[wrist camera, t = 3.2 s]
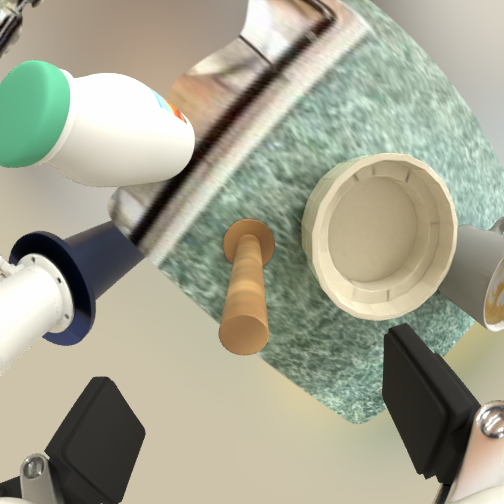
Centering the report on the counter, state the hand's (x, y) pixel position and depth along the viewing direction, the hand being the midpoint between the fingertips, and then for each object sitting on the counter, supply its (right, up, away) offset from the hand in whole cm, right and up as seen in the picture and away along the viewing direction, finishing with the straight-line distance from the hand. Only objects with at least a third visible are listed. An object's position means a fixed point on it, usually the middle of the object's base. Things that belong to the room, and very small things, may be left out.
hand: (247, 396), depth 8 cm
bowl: (+13, +7, +20) cm, 25 cm away
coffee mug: (+28, +4, +21) cm, 35 cm away
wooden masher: (0, +6, +20) cm, 21 cm away
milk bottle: (-9, +15, +18) cm, 25 cm away
